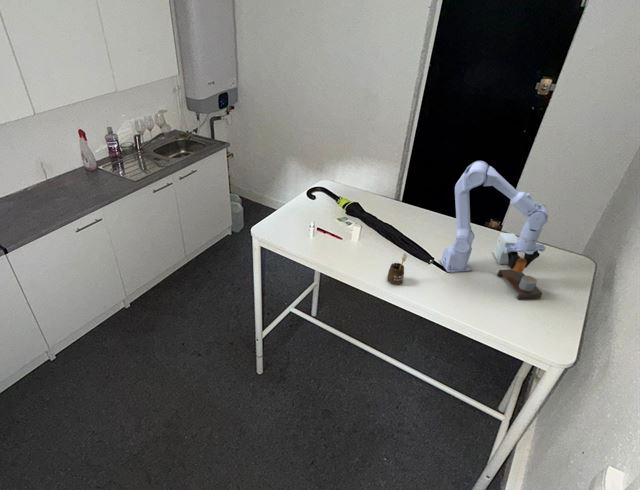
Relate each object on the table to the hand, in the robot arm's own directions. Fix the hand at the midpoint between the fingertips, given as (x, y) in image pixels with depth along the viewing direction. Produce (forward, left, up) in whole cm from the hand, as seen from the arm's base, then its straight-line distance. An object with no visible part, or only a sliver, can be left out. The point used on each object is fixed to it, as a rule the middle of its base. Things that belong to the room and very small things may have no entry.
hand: (517, 266), depth 155 cm
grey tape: (0, -8, -4) cm, 9 cm away
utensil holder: (-45, +4, -7) cm, 46 cm away
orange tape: (0, 0, -1) cm, 1 cm away
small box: (+4, +14, -7) cm, 16 cm away
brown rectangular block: (0, -4, -6) cm, 8 cm away
